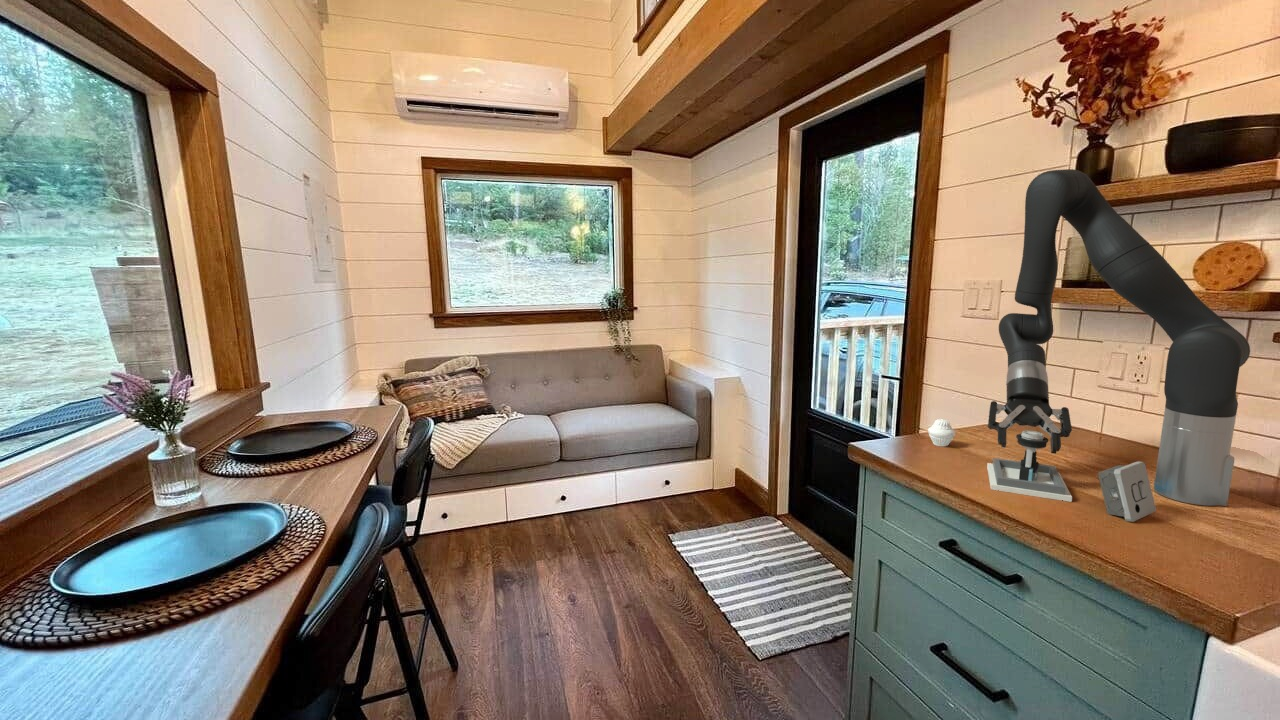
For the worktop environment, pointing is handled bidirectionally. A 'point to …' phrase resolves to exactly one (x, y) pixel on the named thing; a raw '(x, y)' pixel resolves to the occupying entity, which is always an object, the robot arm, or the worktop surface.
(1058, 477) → the grey square tray
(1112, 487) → the electrical outlet
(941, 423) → the muffin
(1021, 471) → the push button
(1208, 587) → the worktop surface
